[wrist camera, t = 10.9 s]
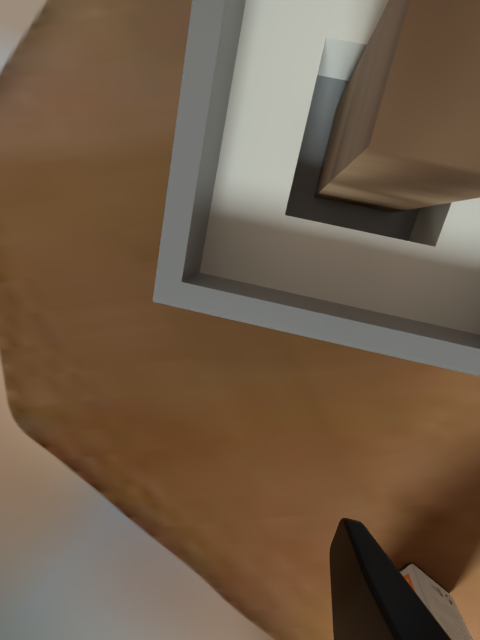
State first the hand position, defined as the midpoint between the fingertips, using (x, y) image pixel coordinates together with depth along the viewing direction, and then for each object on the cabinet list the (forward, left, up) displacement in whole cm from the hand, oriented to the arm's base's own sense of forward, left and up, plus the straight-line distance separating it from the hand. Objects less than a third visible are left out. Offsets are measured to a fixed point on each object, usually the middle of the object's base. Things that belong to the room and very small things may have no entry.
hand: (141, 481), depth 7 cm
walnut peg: (+5, -10, -12) cm, 16 cm away
